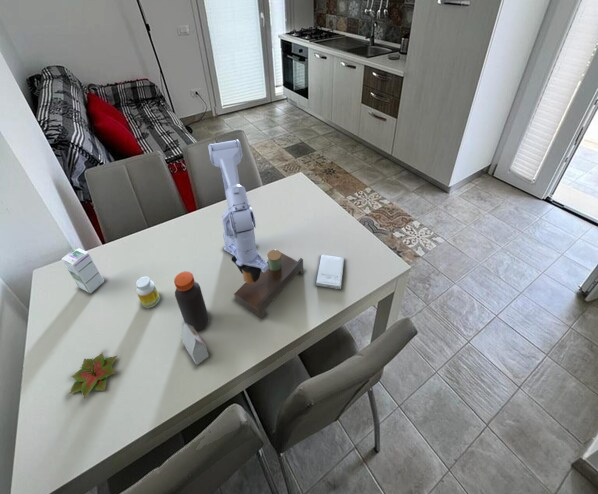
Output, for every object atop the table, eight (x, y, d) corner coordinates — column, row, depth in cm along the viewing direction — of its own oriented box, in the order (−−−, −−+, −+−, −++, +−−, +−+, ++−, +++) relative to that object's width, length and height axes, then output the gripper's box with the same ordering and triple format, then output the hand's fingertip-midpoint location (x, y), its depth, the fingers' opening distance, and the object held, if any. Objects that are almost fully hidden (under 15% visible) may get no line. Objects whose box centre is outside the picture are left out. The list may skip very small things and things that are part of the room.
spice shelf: (235, 300, 106) (233, 287, 102) (278, 257, 121) (277, 245, 117) (261, 318, 100) (259, 306, 97) (303, 271, 115) (303, 259, 112)
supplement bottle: (141, 297, 107) (132, 278, 102) (158, 291, 109) (151, 272, 104) (142, 311, 103) (133, 291, 98) (160, 304, 105) (153, 284, 100)
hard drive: (343, 260, 119) (340, 289, 109) (321, 257, 120) (316, 285, 110) (344, 257, 118) (341, 286, 108) (321, 254, 119) (316, 282, 109)
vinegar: (188, 336, 96) (172, 293, 85) (183, 317, 101) (168, 274, 90) (211, 326, 99) (199, 282, 88) (205, 308, 104) (193, 265, 93)
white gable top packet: (196, 365, 89) (189, 345, 84) (185, 347, 94) (177, 326, 88) (208, 356, 91) (202, 335, 86) (197, 338, 96) (190, 318, 90)
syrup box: (105, 281, 113) (89, 251, 105) (89, 294, 109) (72, 264, 100) (93, 275, 115) (77, 246, 107) (78, 288, 111) (60, 258, 103)
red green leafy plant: (109, 398, 83) (102, 389, 80) (59, 403, 82) (51, 394, 80) (126, 350, 93) (121, 341, 90) (82, 354, 92) (75, 345, 90)
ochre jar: (240, 279, 103) (238, 267, 99) (250, 269, 106) (248, 257, 103) (251, 286, 100) (249, 274, 97) (261, 276, 103) (259, 264, 100)
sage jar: (265, 267, 112) (264, 255, 109) (274, 258, 116) (273, 247, 112) (276, 273, 110) (275, 262, 107) (284, 264, 113) (283, 253, 110)
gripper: (217, 242, 96) (224, 273, 103) (255, 264, 89) (259, 296, 96) (235, 228, 100) (240, 258, 108) (271, 248, 93) (274, 280, 101)
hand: (250, 275), depth 102 cm, fingers closed on ochre jar, 4 cm apart
